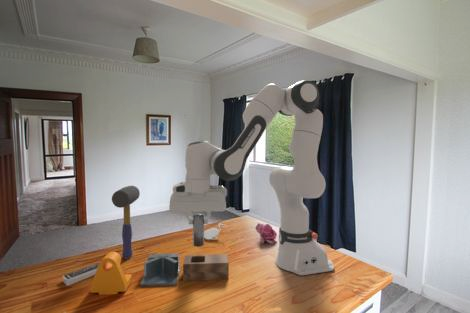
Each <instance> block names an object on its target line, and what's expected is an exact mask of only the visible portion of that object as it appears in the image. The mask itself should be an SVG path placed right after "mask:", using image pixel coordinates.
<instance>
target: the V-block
mask: <svg viewBox="0 0 470 313" xmlns="http://www.w3.org/2000/svg"><path fill="white" fill-rule="evenodd" d="M181 267H182V266H181V265H180V253H175V252H174V253H155V254H152V253H149V255H148V256H147V261H144V262H143V277H142V279H141V281H140V284H139V287H141V288H142V287H161V286H163V287H164V286H165V287H166V286H177V285H178V284H177V283H178V282H179V281H178V280H179V276H180V271H181Z"/></svg>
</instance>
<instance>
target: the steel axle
mask: <svg viewBox="0 0 470 313" xmlns="http://www.w3.org/2000/svg"><path fill="white" fill-rule="evenodd" d="M192 218H193V224H192V244H193V246H194V247H203V246H205V238H204V231H205V224H204V218H205V214H204V213H203V212H195V213H193V214H192Z"/></svg>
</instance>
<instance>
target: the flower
mask: <svg viewBox="0 0 470 313" xmlns="http://www.w3.org/2000/svg"><path fill="white" fill-rule="evenodd" d="M255 230H256V232H257V233H258V234H259V238H260V240H261V245H263V244H264V243H265V242H267V243H268V244H275V243H277V241H276V238H277V236H278V235H277V232H276V231H275V230H274V229H273V227H272V226H271V225H270V224H268V223H267V224H263V223H262V224H261V223H257V225H256V226H255Z"/></svg>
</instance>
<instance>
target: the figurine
mask: <svg viewBox="0 0 470 313" xmlns="http://www.w3.org/2000/svg"><path fill="white" fill-rule="evenodd" d="M221 226H225V227H226V229H229V227H228V226H227V225H226V224H224V223H222V222H219V223H218V228H217V227H212V228H209V229H206V230H204V239H205V240H218V237H219V236H218V235H219V233H220V232H221V231H222V228H221Z"/></svg>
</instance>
